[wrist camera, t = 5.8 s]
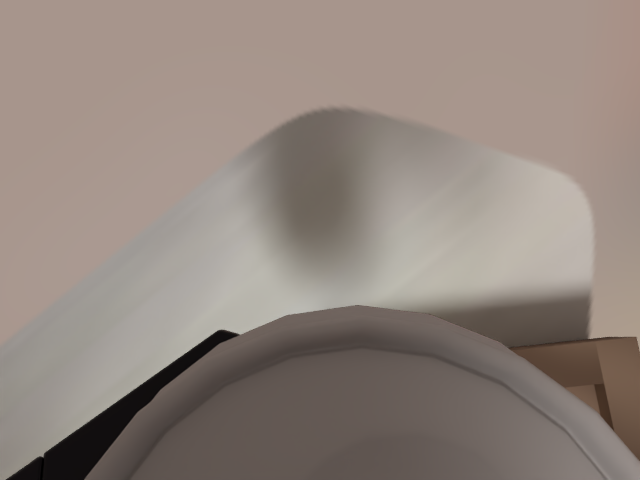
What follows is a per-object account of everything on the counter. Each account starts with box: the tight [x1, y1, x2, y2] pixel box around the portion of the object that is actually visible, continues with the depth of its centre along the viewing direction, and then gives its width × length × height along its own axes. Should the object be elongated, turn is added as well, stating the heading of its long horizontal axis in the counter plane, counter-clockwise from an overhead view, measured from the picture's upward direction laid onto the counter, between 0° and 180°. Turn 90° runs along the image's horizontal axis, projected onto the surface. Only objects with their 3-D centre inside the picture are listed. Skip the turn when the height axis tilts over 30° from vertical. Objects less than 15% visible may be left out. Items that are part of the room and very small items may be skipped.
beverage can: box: [84, 305, 640, 480], centre depth 9 cm, size 5×5×12 cm
